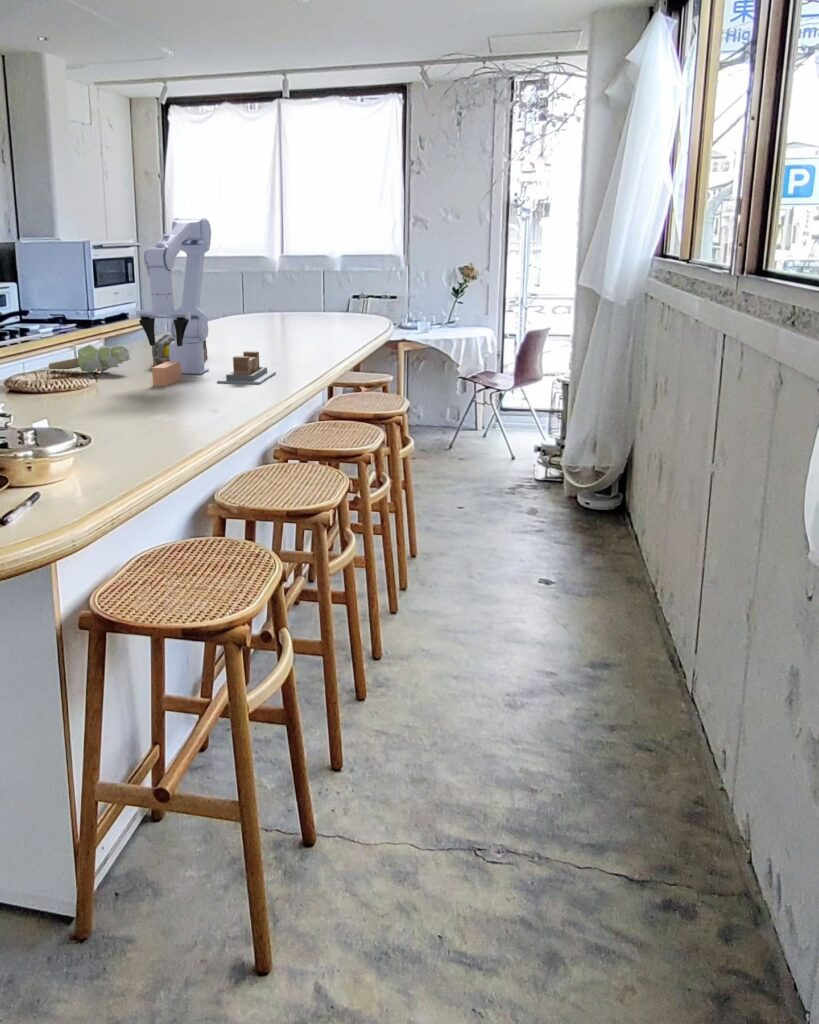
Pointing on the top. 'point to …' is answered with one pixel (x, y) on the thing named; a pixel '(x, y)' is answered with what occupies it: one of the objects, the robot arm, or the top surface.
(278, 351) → the top surface
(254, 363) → the tan notched block
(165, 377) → the salmon pink cuboid
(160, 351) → the cage light
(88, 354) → the decorative object
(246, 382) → the jig
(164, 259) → the robot arm
